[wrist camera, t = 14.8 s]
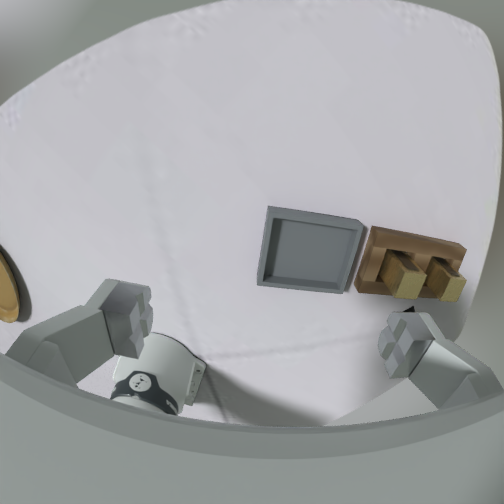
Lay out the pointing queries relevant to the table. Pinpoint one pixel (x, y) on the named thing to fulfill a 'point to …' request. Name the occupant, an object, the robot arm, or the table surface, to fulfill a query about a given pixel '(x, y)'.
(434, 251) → the pallet
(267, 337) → the table surface
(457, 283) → the block
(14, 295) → the plant saucer
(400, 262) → the block
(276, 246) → the shallow grey tray
